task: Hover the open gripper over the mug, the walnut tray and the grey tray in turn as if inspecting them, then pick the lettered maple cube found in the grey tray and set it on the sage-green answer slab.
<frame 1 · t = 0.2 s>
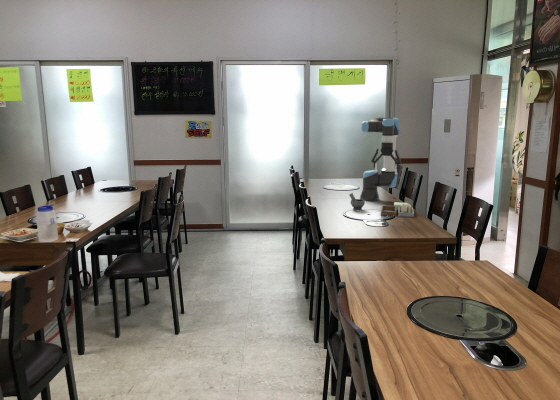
hand: (385, 173, 309), 28 cm above the table, fingers open, 13 cm apart
mortar and pestle: (356, 210, 324), on the table
letter cube: (405, 209, 313), in the tray grey
tray grey: (405, 213, 313), on the table
answer slab: (400, 208, 329), on the table
tray walnut: (388, 212, 316), on the table
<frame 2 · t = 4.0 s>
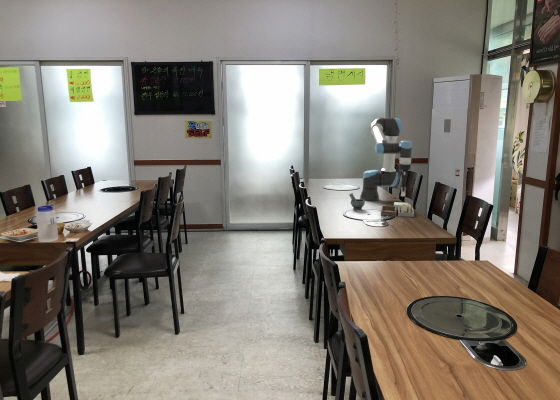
hand: (403, 194, 311), 13 cm above the table, fingers open, 13 cm apart
nothing on the table moved.
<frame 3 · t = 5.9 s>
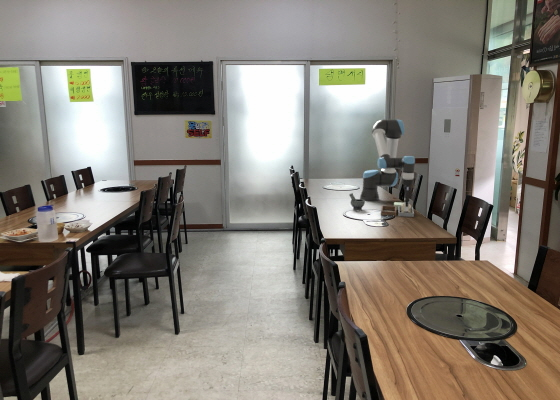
hand: (406, 209, 313), 3 cm above the table, fingers open, 13 cm apart
nothing on the table moved.
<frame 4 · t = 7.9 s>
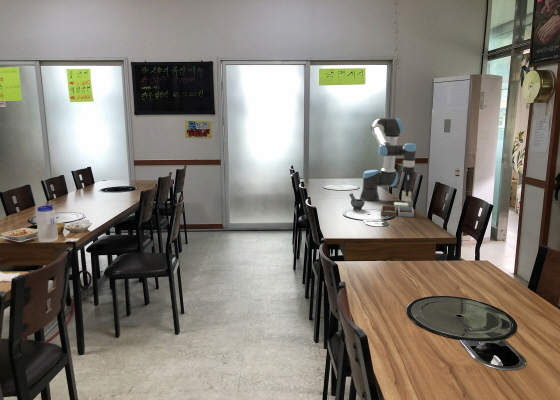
hand: (406, 199, 312), 10 cm above the table, fingers closed on letter cube, 6 cm apart
letter cube: (406, 196, 312), point 12 cm above the table, touching gripper
everything else where it was.
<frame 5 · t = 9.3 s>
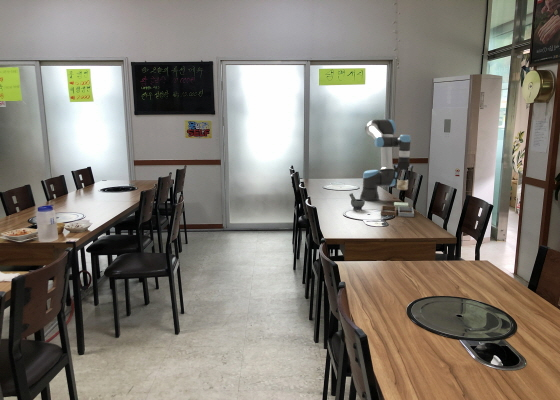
hand: (402, 188, 327), 15 cm above the table, fingers closed on letter cube, 6 cm apart
letter cube: (402, 185, 326), point 17 cm above the table, touching gripper
everything else where it was.
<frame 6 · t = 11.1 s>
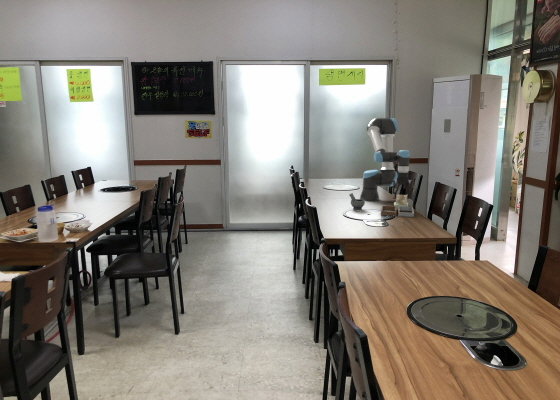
hand: (401, 203, 329), 4 cm above the table, fingers closed on answer slab, letter cube, 6 cm apart
letter cube: (401, 199, 328), point 6 cm above the table, touching answer slab, gripper
everything else where it was.
when the fingers open (4 cm above the table, at t = 11.7 s): letter cube stays where it is, resting on answer slab.
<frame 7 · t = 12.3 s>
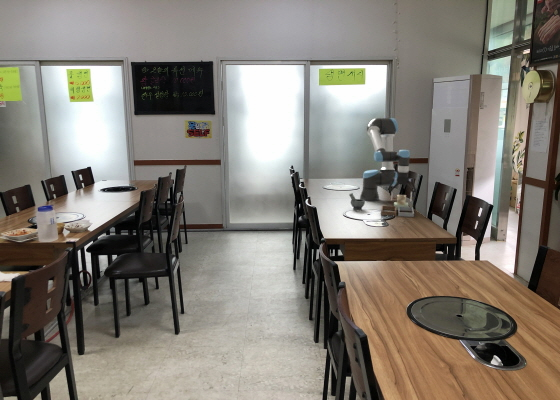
hand: (401, 200, 329), 6 cm above the table, fingers open, 13 cm apart
letter cube: (401, 199, 328), on the answer slab, point 6 cm above the table
everything else where it was.
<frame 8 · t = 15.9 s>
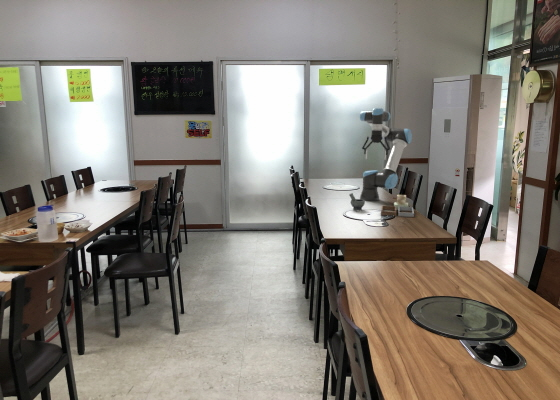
hand: (375, 159, 333), 35 cm above the table, fingers open, 13 cm apart
nothing on the table moved.
at the end: letter cube inside the target area on the answer slab (0.1 cm from its centre), point 6.5 cm above the answer slab's base; the gripper is holding nothing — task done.
